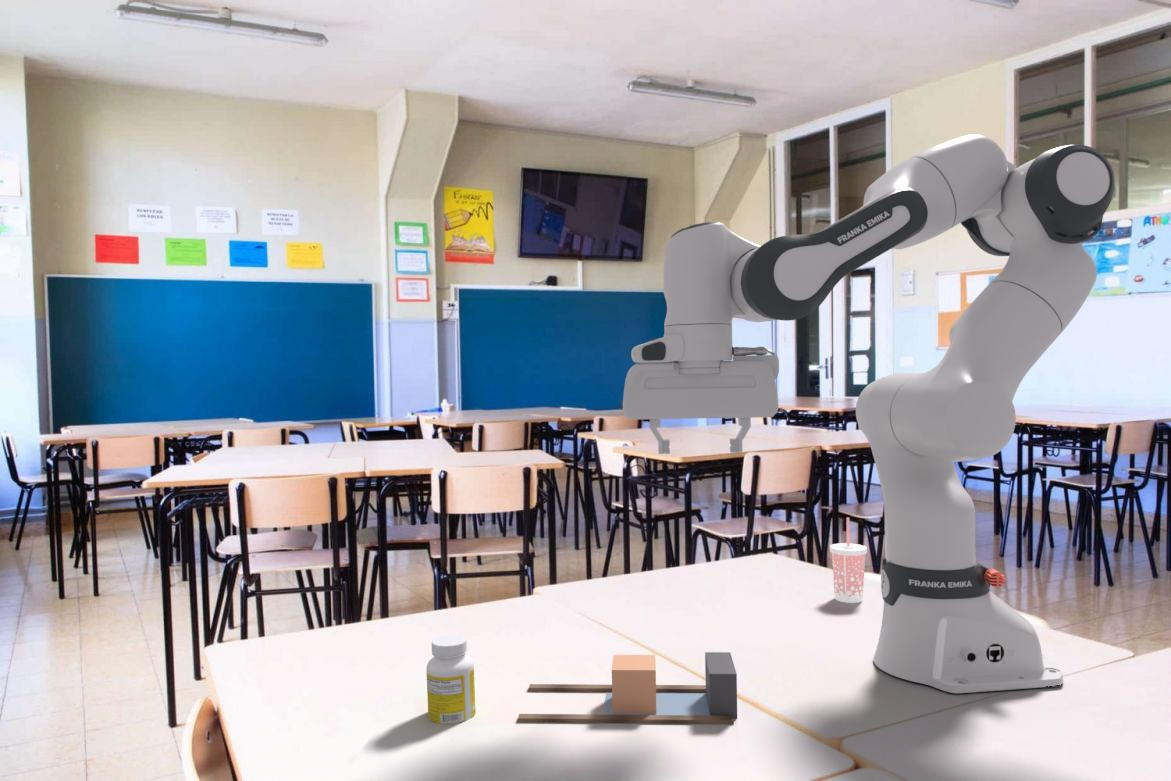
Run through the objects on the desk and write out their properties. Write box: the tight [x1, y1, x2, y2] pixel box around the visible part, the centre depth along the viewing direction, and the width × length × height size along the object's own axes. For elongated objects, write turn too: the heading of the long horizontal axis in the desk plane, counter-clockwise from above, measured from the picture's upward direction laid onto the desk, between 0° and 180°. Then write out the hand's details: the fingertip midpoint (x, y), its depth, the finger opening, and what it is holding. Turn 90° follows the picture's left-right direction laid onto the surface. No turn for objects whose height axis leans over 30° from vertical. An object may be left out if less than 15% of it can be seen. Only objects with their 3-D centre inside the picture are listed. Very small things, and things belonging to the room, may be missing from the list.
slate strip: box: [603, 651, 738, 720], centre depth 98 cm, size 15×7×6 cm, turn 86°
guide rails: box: [517, 683, 735, 725], centre depth 98 cm, size 24×10×2 cm, turn 86°
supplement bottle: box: [426, 634, 476, 725], centre depth 97 cm, size 5×5×10 cm
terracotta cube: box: [611, 654, 657, 714], centre depth 98 cm, size 5×5×5 cm
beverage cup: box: [829, 517, 868, 604], centre depth 143 cm, size 6×6×14 cm
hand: (700, 453), depth 111 cm, fingers open, 8 cm apart
